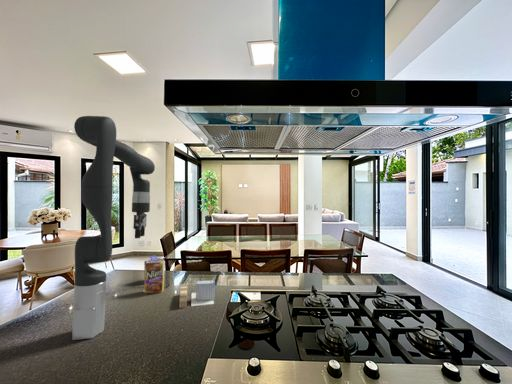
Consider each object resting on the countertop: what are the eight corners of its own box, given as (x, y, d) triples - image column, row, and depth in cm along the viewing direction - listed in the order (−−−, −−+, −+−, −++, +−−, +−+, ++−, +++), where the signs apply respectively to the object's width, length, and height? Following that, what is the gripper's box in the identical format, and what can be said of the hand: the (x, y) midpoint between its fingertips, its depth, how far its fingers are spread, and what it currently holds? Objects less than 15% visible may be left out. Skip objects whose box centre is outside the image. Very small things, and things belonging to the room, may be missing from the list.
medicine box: (196, 297, 116) (214, 296, 117) (195, 301, 111) (214, 300, 113) (196, 280, 116) (215, 280, 118) (196, 283, 112) (215, 283, 113)
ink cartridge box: (158, 278, 147) (159, 253, 148) (164, 279, 144) (164, 255, 145) (143, 282, 139) (144, 256, 140) (149, 284, 136) (150, 258, 137)
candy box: (143, 293, 121) (144, 262, 122) (146, 290, 126) (147, 260, 126) (162, 293, 123) (163, 262, 123) (164, 290, 127) (165, 260, 128)
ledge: (186, 307, 106) (186, 295, 106) (179, 307, 105) (179, 296, 106) (187, 294, 121) (187, 283, 122) (181, 294, 121) (181, 284, 121)
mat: (214, 304, 109) (214, 303, 109) (191, 306, 107) (191, 305, 107) (211, 292, 124) (211, 291, 125) (191, 293, 122) (191, 292, 122)
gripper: (146, 201, 107) (145, 238, 106) (152, 202, 121) (151, 235, 120) (128, 201, 105) (126, 239, 104) (136, 202, 119) (134, 235, 118)
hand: (139, 237), depth 112 cm, fingers open, 8 cm apart
